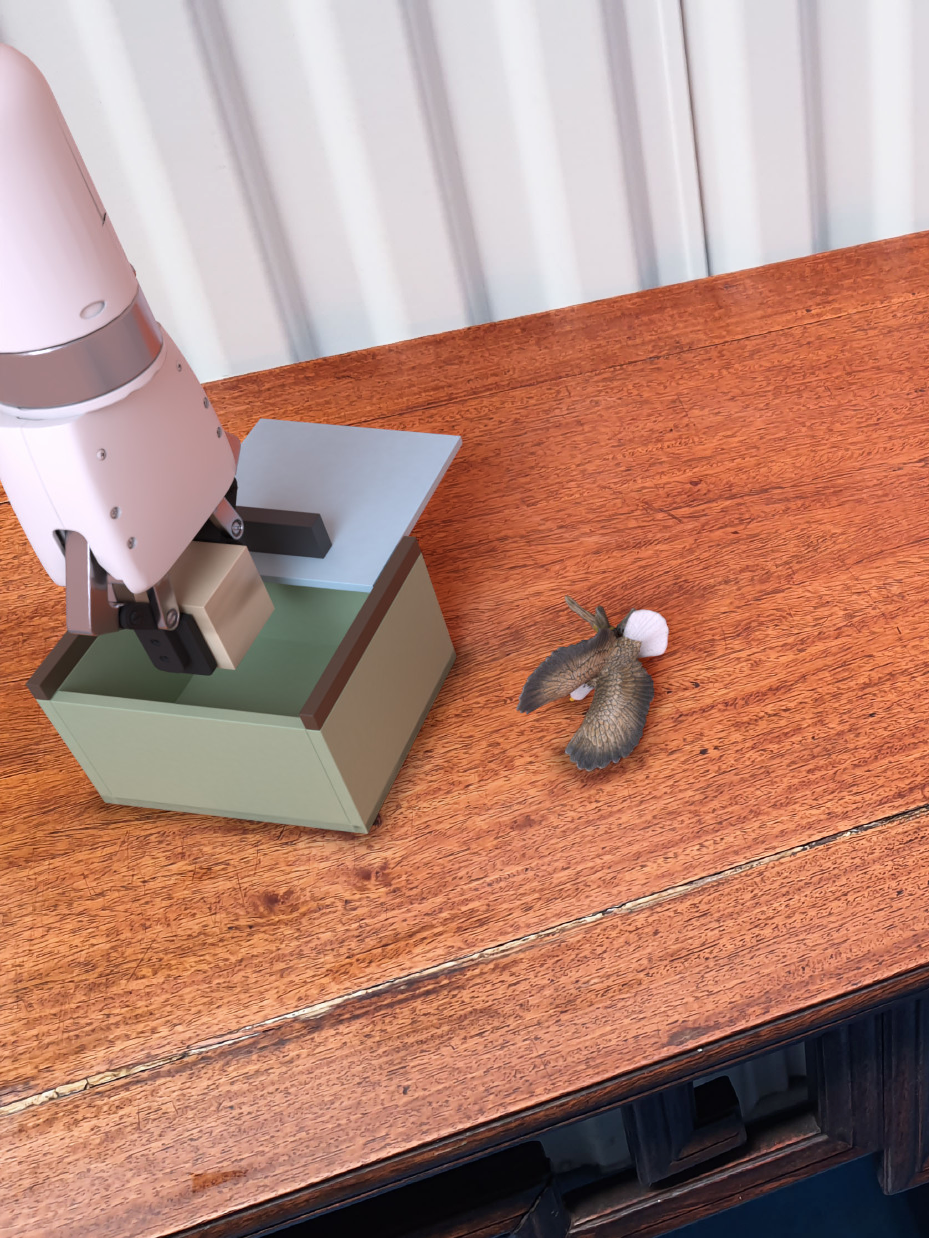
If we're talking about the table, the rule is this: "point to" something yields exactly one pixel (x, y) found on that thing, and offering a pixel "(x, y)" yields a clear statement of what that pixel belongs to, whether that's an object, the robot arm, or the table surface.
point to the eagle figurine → (602, 683)
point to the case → (263, 707)
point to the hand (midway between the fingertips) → (211, 629)
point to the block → (220, 597)
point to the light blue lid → (333, 498)
